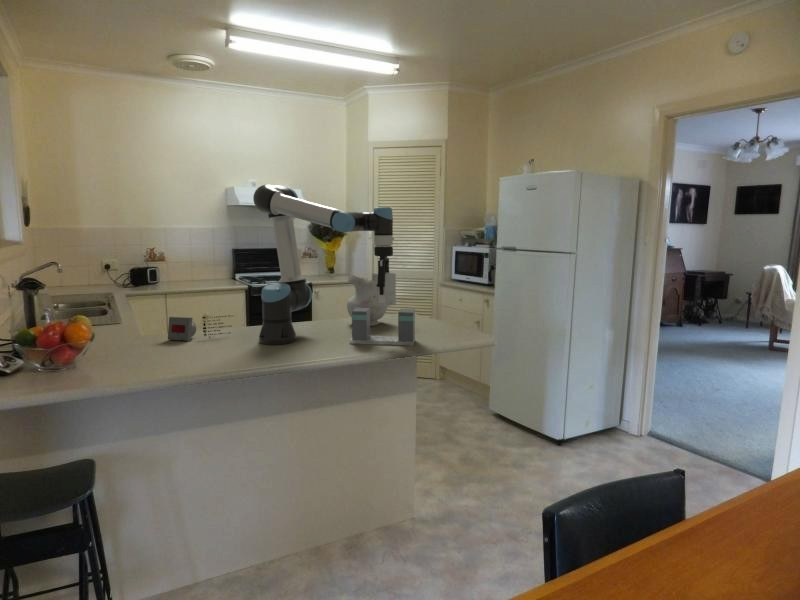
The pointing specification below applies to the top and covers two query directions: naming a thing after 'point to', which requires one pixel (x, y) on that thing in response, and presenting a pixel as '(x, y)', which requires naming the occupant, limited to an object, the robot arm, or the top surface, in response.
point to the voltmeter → (186, 328)
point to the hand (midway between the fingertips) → (383, 300)
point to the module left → (360, 323)
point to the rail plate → (382, 341)
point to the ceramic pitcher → (364, 299)
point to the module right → (406, 325)
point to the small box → (389, 289)
